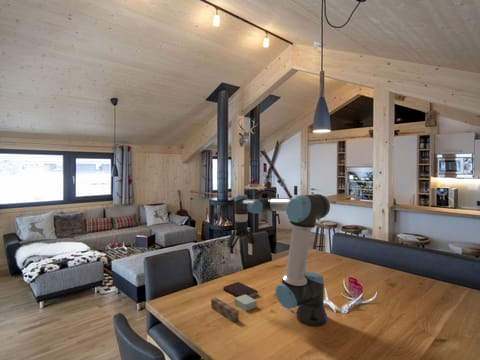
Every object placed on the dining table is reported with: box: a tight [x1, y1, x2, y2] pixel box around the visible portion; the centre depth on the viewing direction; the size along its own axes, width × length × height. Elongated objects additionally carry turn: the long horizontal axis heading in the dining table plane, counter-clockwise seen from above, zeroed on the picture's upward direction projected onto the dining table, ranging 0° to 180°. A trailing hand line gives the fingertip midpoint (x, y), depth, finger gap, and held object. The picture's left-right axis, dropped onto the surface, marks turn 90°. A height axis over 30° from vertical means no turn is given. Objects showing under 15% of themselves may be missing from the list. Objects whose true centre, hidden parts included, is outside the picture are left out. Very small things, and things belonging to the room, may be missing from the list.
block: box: [233, 295, 258, 312], centre depth 163 cm, size 10×8×4 cm
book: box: [222, 281, 259, 298], centre depth 181 cm, size 12×19×3 cm, turn 38°
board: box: [210, 297, 240, 323], centre depth 154 cm, size 20×3×5 cm, turn 40°
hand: (241, 256), depth 174 cm, fingers open, 13 cm apart
